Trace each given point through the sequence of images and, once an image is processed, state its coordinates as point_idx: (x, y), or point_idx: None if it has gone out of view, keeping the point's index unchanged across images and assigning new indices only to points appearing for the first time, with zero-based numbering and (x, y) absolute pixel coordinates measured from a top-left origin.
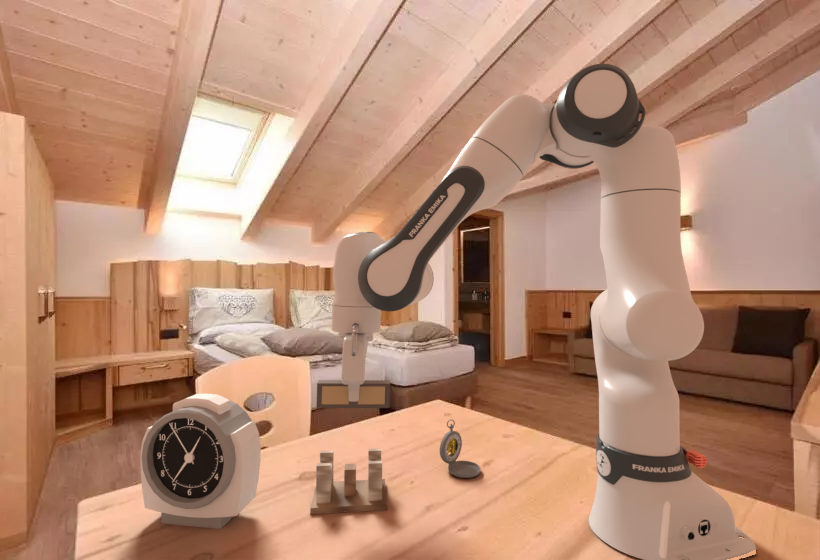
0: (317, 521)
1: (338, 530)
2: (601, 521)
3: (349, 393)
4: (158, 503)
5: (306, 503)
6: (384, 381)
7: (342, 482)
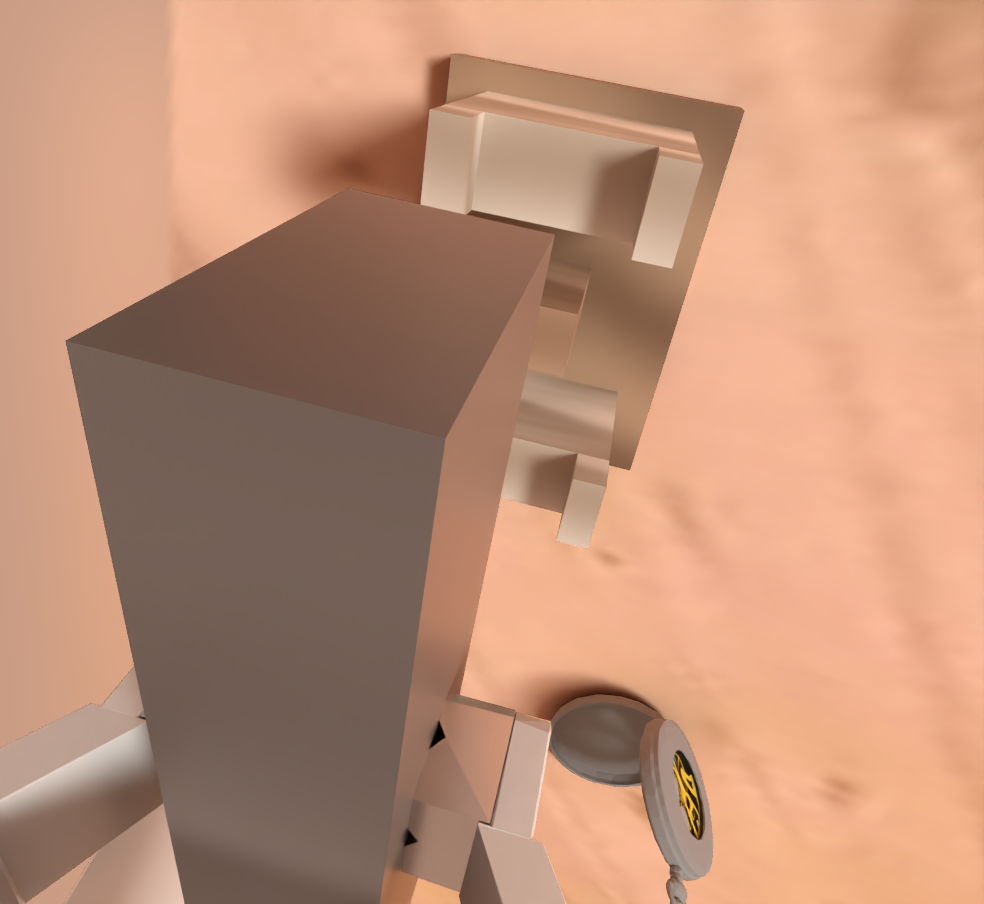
0: (391, 91)
1: (310, 186)
2: None
3: (123, 687)
4: None
5: (576, 31)
6: None
7: (677, 267)
